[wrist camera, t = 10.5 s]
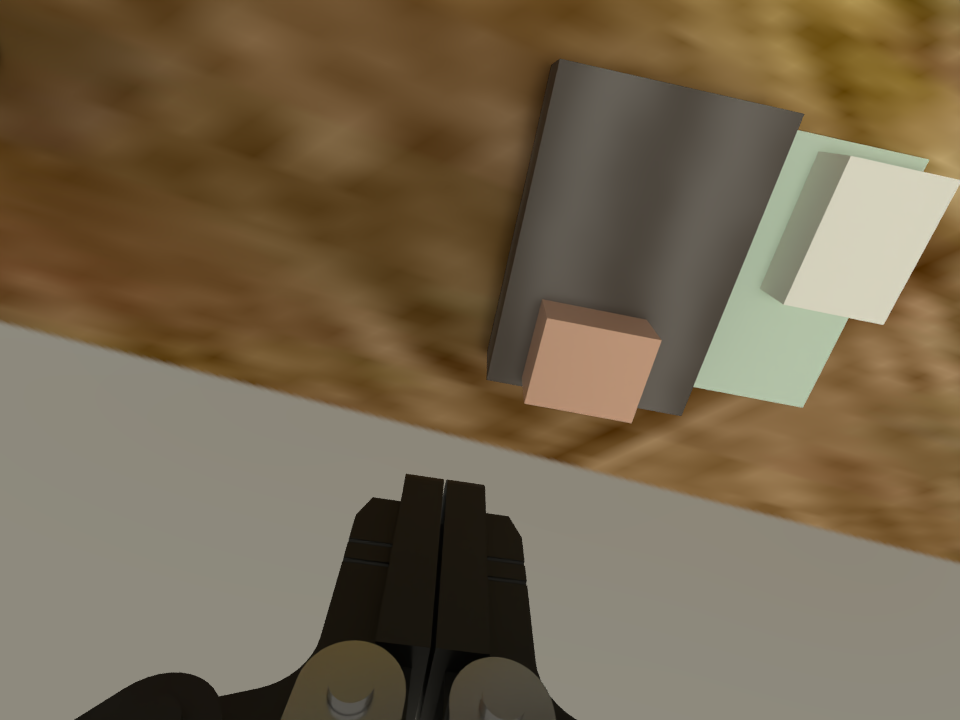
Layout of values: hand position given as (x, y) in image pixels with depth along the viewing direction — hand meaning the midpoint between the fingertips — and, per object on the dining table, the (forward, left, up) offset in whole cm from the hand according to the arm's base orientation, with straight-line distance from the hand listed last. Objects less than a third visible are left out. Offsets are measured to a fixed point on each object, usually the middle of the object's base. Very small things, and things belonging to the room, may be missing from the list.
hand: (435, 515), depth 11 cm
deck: (+8, +1, -25) cm, 26 cm away
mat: (+19, +1, -25) cm, 31 cm away
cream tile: (+21, +5, -21) cm, 30 cm away
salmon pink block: (+7, -4, -21) cm, 22 cm away
